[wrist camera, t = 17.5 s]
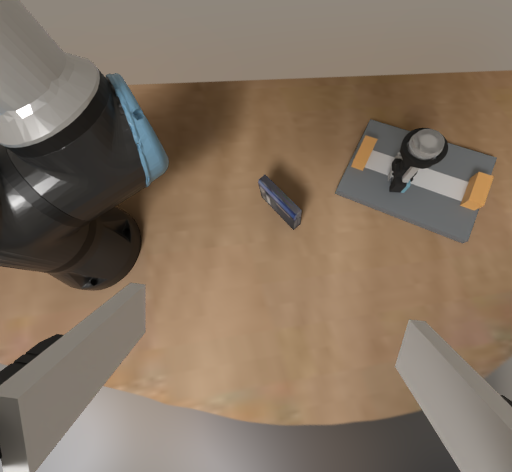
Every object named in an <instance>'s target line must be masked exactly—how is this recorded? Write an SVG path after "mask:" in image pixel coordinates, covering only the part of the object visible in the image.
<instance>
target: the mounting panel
mask: <svg viewBox="0 0 512 472" xmlns="http://www.w3.org/2000/svg"><path fill="white" fill-rule="evenodd" d="M409 132H410V131H407V130H404V129H401V128H397V127H394V126H391V125H387V124H384V123H381V122H378V121H374V120H371V119H370V121H369V123H368V125H367V127H366V130H365V132H364V134H363V136H362V138H361V140H360V142H359V144H358V146H357V148H356V150H355V152H354V154H353V156H352V159H351V161H350V163H349V165H348V167H347V169H346V171H345V173H344V175H343V177H342V179H341V181H340V183H339V185H338V188H337V190H336V192H335V194H337V195H340V196H342V197H345V198H348V199H350V200H353V201H355V202H358V203H360V204H363V205H366V206H368V207H371V208H373V209H376V210H378V211H381V212H384V213H386V214H389V215H391V216H394V217H396V218H399V219H401V220H404V221H407V222H409V223H412V224H414V225H417V226H419V227H422V228H425V229H427V230H430V231H432V232H435V233H437V234H440V235H442V236H445V237H448V238H450V239H453V240H455V241H458V242H460V243H465V242H467V241H468V239H469V237H470V234H471V231H472V228H473V225H474V222H475V219H476V216H477V214H478V211H479V208H480V207H482V206H484V204H485V201H486V198H487V195H488V192H489V189H490V186H491V184H492V181H493V178H494V176H491V173H492V170H493V167H494V164H495V162H496V159H497V158H496V157H493V156H490V155H486V154H483V153H480V152H476V151H473V150H470V149H466V148H463V147H460V146H457V145H453V144H450V143H448V152H447V154H446V156H445V157H444V158H443V159H442V160H441V161H440V162H439V163H437V164H435V165H432V166H431V167H430V168H425V169H419V170H418V172H417V174H416V175H415V176H414V177H413V181H412V182H410V187H409V188H408V189H407V190H406V191H405V192H404V193H398V192H389V187H390V185H391V183H392V178H391V179H390V180H389V181H388V175H389V173H390V172H391V171H392V162H393V161H394V159H395V156H398V152H399V153H400V148H401V144H402V141H403V139H404V137H405V136H406V135H407V134H408V133H409ZM408 144H409V142H408V143H407V145H408ZM399 156H401V154H400V155H399ZM435 158H436V156H435V157H434V158H433V159H435ZM433 159H432V160H433ZM389 177H390V176H389Z"/></svg>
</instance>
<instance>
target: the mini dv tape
mask: <svg viewBox="0 0 512 472" xmlns="http://www.w3.org/2000/svg"><path fill="white" fill-rule="evenodd" d="M258 184H259V188H260V192H261V196H262V198H263V199H264V200H265V201H266V202H267V203H268V204H269V205H270V206H271V207H272V208H273V209H274V210H275V211H276V212H277V213H278V214H279V215H280V216H281V217H282V218H283V219H284V221H285V222H286V223H287V224H288V225H289V226H290V227H291V228H292V229H293V230H294V229H295V228H296V227H297V226H299V225H300V223H301V213H302V210H301V209H300V208H299V207H298V206H297V205H296V204H295V203H294V202H293V201H291V200H290V199H289V198H288V197H287V196H286V195H285V194H284V193H283V192H282V191H281V190H280V189H279V188H278V187H277V186H276V185H275V184H274V183H273V182H272V181H271V180H270V179H269V178H268V177H267V176H266V175H264V176H263V177H261V178H260V179H259V181H258Z"/></svg>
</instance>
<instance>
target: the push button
mask: <svg viewBox="0 0 512 472" xmlns="http://www.w3.org/2000/svg"><path fill="white" fill-rule="evenodd" d="M408 142H409V144H408V145H407V143H408ZM447 152H448V143H447V141H446V139H445V137H444V136H443V135H442V134H440V133H439V132H438V131H436V130H433V129H429V128H419V129H415V130H413V131H411V132H409V133H408V134H407V135H406V136H405V137H404V139H403V141H402V144H401V148H400V153H399V152H398V156H395V159H394V161H393V162H392V171H391V172H390V173H389V175H388V181H389V180H390V179H391V178H392V183H391V185H390V187H389V192H398V193H404V192H405V191H406V190H407V189H408V188H409V187H410V182H412V181H413V177H414V176H415V175H416V174H417V172H418V170H419V169H425V168H430V167H431V166H432V165H435V164H437V163H439V162H440V161H441V160H442V159H443V158H444V157H445V156H446V154H447ZM400 154H401V156H399V155H400ZM435 156H436V158H435V159H433V158H434V157H435ZM432 159H433V160H432ZM389 176H390V177H389Z"/></svg>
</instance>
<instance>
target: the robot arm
mask: <svg viewBox="0 0 512 472" xmlns="http://www.w3.org/2000/svg"><path fill="white" fill-rule="evenodd" d="M168 165H169V159H168V156H167V154H166V152H165V150H164V148H163V146H162V145H161V143H160V141H159V139H158V137H157V136H156V134H155V132H154V130H153V129H152V127H151V125H150V123H149V122H148V120H147V118H146V117H145V115H144V114H143V111H142V110H141V108H140V106H139V105H138V103H137V101H136V99H135V97H134V96H133V94H132V92H131V91H130V89H129V87H128V86H127V84H126V82H125V81H124V79H123V78H122V77H121V75H119V74H117V73H115V74H108V75H106V78H105V77H104V76H103V74H101V72H100V71H99V69H98V68H97V67H96V65H95V64H94V63H93V62H92V61H90V60H89V59H87V58H83V57H80V56H76V55H72V54H69V53H65V52H64V51H63V50H62V49H61V48H60V47H59V46H58V45H57V44H56V42H55V41H54V40H53V39H52V38H51V37H50V36H49V34H48V33H47V32H46V31H45V30H44V28H43V27H42V26H41V25H40V24H39V23H38V21H37V20H36V19H35V18H34V17H33V16H32V14H31V13H30V12H29V11H28V10H27V9H26V7H25V6H24V5H23V4H22V3H21V2H20V0H0V266H3V267H10V268H17V269H24V270H31V271H39V272H45V273H48V274H50V275H51V276H53V277H55V278H57V279H58V280H60V281H62V282H63V283H65V284H67V285H68V286H70V287H73V288H77V289H82V290H101V289H105V288H108V287H110V286H112V285H114V284H116V283H117V282H119V281H120V280H121V279H122V278H124V277H125V276H126V275H127V273H128V272H129V271H130V270H131V268H132V267H133V265H134V263H135V262H136V259H137V257H138V254H139V250H140V244H141V238H140V231H139V228H138V226H137V224H136V222H135V221H134V219H133V218H132V217H131V216H130V215H128V214H127V213H125V212H124V211H122V210H120V209H119V208H116V207H115V206H116V205H118V204H119V203H121V202H123V201H124V200H126V199H127V198H129V197H130V196H132V195H134V194H135V193H137V192H138V191H140V190H141V189H143V188H145V187H148V186H149V185H150V184H151V182H152V181H154V180H155V179H157V178H158V177H159V176H161V175H162V174H164V173H165V171H166V170H167V168H168ZM144 333H145V285H144V284H137V283H130V284H128V285H127V286H126V287H124V288H123V289H122V290H121V291H119V292H118V293H117V294H116V295H114V296H113V297H112V298H111V299H109V300H108V301H107V302H105V303H104V304H103V305H102V306H100V307H99V308H98V309H97V310H95V311H94V312H93V313H91V314H90V315H89V316H88V317H86V318H85V319H84V320H83V321H81V322H80V323H79V324H78V325H76V326H75V327H74V328H72V329H71V330H70V331H69V332H67V333H66V334H65V335H59V334H56V335H54V336H52V337H50V338H48V339H46V340H44V341H42V342H40V343H38V344H37V345H36V346H34V347H33V348H32V349H30V350H29V351H28V352H26V354H25V355H22V356H21V357H19V358H18V359H17V360H15V361H14V363H13V364H10V365H9V366H7V367H6V368H4V369H3V370H2V371H0V459H1V461H2V466H3V471H4V472H35V471H36V470H37V469H38V468H39V466H40V465H41V464H42V462H43V461H44V460H45V459H46V457H47V456H48V455H49V454H50V452H51V451H52V450H53V449H54V447H55V446H56V445H57V443H58V442H59V441H60V440H61V438H62V437H63V436H64V435H65V433H66V432H67V431H68V429H69V428H70V427H71V426H72V424H73V423H74V422H75V421H76V419H77V418H78V417H79V416H80V414H81V413H82V412H83V411H84V409H85V408H86V406H87V405H88V404H89V403H90V402H91V400H92V399H93V398H94V396H95V395H96V394H97V393H98V391H99V390H100V389H101V388H102V386H103V385H104V384H105V383H106V381H107V380H108V379H109V378H110V376H111V375H112V374H113V373H114V371H115V370H116V369H117V367H118V366H119V365H120V364H121V362H122V361H123V360H124V359H125V357H126V356H127V355H128V354H129V352H130V351H131V350H132V348H133V347H134V346H135V345H136V343H137V342H138V341H139V340H140V338H141V337H142V336H143V334H144ZM395 367H396V369H397V370H398V372H399V373H400V375H401V377H402V378H403V380H404V381H405V383H406V385H407V386H408V388H409V389H410V391H411V393H412V394H413V396H414V397H415V399H416V401H417V402H418V404H419V405H420V407H421V409H422V410H423V412H424V413H425V415H426V416H427V418H428V420H429V421H430V423H431V424H432V426H433V428H434V429H435V431H436V432H437V434H438V436H439V437H440V439H441V440H442V442H443V444H444V445H445V447H446V448H447V450H448V452H449V453H450V455H451V456H452V458H453V460H454V461H455V463H456V464H457V466H458V467H459V469H460V471H461V472H512V401H510V400H509V399H507V398H506V397H505V396H503V395H499V394H498V393H497V392H496V391H495V390H494V389H493V388H492V387H491V386H490V385H489V384H488V383H487V382H486V381H485V380H484V379H483V378H482V377H481V376H480V375H479V374H478V373H477V372H476V371H475V370H474V369H473V368H472V367H471V366H470V365H469V364H468V363H467V362H466V361H465V360H464V359H463V358H462V357H461V356H460V355H459V354H458V353H457V352H456V351H455V350H454V349H453V348H452V347H451V346H450V345H449V344H448V343H447V342H446V341H444V340H443V339H442V338H441V337H440V336H439V335H438V334H437V333H436V332H435V331H434V330H433V329H432V328H431V327H430V326H429V325H428V324H427V323H426V322H425V321H418V320H411V319H409V321H408V325H407V328H406V332H405V335H404V338H403V342H402V345H401V348H400V352H399V355H398V358H397V362H396V365H395Z"/></svg>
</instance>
